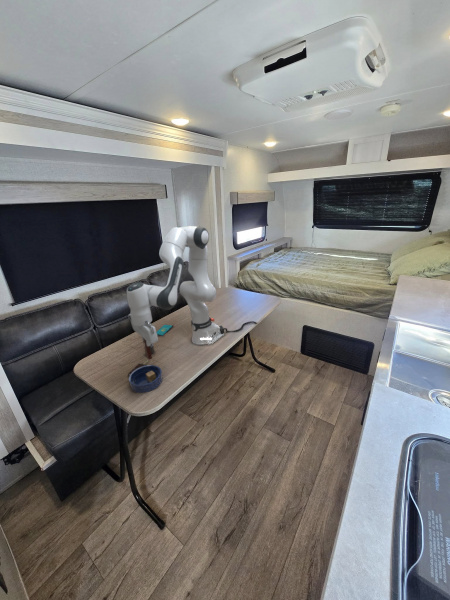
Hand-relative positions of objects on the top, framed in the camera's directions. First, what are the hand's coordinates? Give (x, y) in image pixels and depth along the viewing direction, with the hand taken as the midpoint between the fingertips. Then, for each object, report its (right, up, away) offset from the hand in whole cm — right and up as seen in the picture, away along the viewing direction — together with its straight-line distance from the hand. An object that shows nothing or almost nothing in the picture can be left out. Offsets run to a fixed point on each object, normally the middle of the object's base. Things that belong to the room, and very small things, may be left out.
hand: (147, 344), depth 115 cm
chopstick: (0, -8, +3) cm, 8 cm away
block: (0, -19, +7) cm, 21 cm away
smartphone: (-6, -1, +56) cm, 57 cm away
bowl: (-2, -21, +6) cm, 22 cm away
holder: (-8, -11, +30) cm, 33 cm away
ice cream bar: (-9, -17, +17) cm, 26 cm away
